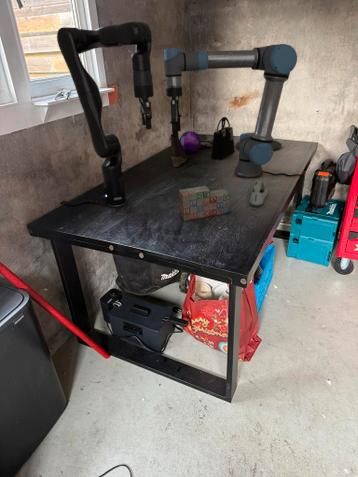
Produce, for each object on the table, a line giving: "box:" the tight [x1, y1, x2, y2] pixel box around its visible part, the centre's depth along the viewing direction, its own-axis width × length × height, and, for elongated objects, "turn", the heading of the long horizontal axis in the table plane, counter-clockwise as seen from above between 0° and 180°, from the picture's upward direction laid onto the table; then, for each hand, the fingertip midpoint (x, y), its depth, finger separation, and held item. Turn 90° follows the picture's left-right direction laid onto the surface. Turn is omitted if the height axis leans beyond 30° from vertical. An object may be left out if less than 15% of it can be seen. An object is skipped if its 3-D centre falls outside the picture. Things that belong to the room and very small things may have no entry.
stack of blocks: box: [178, 185, 231, 222], centre depth 144 cm, size 21×6×12 cm, turn 105°
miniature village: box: [235, 139, 282, 152], centre depth 237 cm, size 32×35×9 cm
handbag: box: [210, 116, 235, 160], centre depth 218 cm, size 21×9×25 cm, turn 148°
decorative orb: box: [179, 130, 202, 154], centre depth 230 cm, size 15×15×15 cm
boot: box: [169, 133, 188, 168], centre depth 211 cm, size 9×24×20 cm, turn 168°
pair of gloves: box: [199, 134, 214, 149], centre depth 251 cm, size 30×26×5 cm
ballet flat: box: [249, 179, 269, 207], centre depth 158 cm, size 8×24×8 cm, turn 163°
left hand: (147, 127), depth 135 cm, fingers open, 8 cm apart
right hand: (176, 134), depth 161 cm, fingers open, 13 cm apart
